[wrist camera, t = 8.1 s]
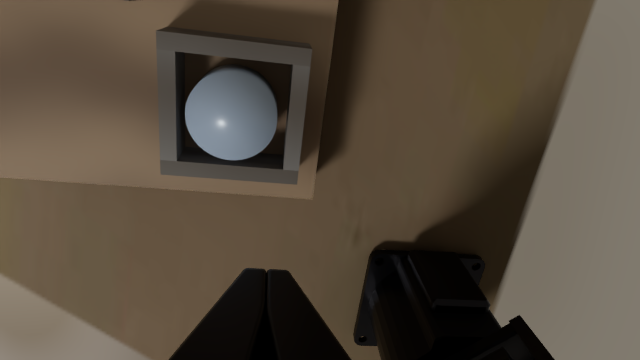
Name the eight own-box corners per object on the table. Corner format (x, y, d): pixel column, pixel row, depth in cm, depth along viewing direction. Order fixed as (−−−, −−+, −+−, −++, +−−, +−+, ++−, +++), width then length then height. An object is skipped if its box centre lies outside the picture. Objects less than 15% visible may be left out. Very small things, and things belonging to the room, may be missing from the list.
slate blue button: (274, 148, 17) (273, 163, 16) (193, 142, 17) (185, 156, 15) (280, 69, 16) (280, 77, 14) (193, 59, 15) (184, 67, 14)
